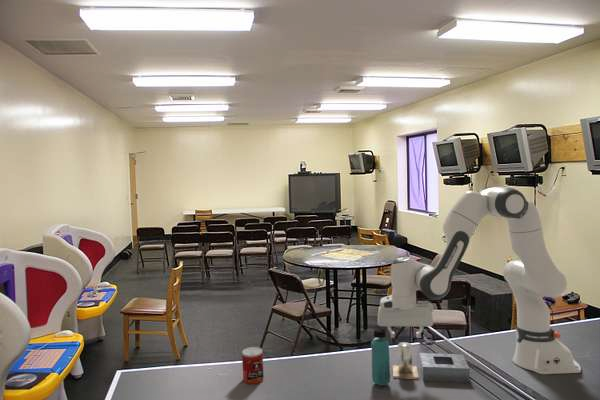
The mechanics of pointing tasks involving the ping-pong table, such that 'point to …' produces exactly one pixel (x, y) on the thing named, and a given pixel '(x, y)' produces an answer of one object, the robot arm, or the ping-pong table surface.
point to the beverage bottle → (380, 358)
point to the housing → (444, 367)
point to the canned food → (252, 365)
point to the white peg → (405, 358)
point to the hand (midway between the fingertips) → (405, 337)
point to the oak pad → (405, 376)
